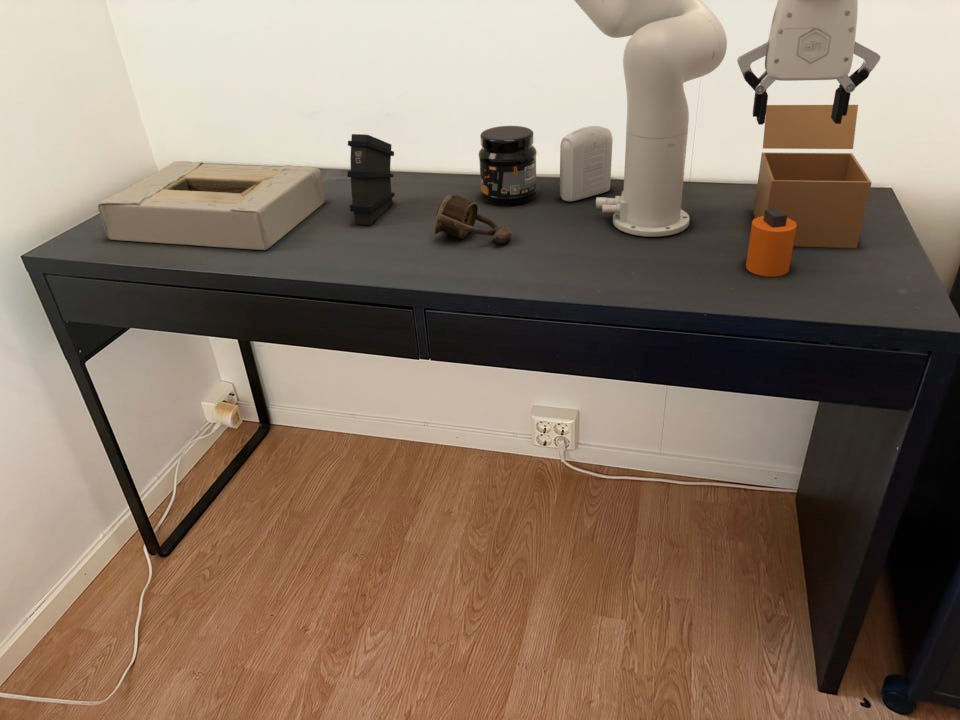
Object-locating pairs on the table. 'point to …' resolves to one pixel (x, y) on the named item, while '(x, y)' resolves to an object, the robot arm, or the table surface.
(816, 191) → the carton
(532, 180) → the supplement container
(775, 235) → the orange cylinder
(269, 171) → the box
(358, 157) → the black banded case
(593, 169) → the white rounded upright block
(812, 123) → the flap
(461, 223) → the brown knobbed piece
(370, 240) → the table surface
